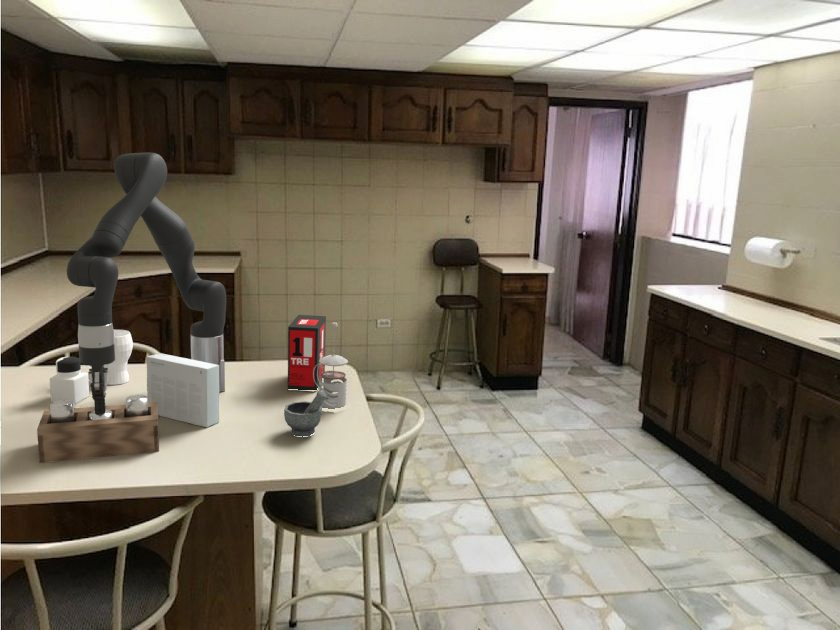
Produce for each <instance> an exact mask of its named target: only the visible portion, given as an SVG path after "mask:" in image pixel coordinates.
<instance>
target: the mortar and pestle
mask: <svg viewBox="0 0 840 630" xmlns="http://www.w3.org/2000/svg"><path fill="white" fill-rule="evenodd" d="M326 398H327V395H326V393H325V392H323V391H319V390H317V392H316V395H315V397H314V398H313V400H311V401H306V400H301V401H294V402H291V403H288V404H286V405H284V406H285V407H284V408H283V409H284V410H283V415H284V421H285V423H286V424H287V426H289V428H291V432H290V434H291V433H292V434H293V435H295V436H302V437H303V436H310V435H311V434H313V433H314V432H315V433H316V429H315V428H317V426H319V424H320V422H321V420H322V419H321V418H322V413H323V412H322V406H321V405H322V403H323V401H324V400H325V399H326ZM293 435H292V436H293ZM295 436H294V437H295ZM310 437H311V436H310Z"/></svg>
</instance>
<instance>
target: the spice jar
mask: <svg viewBox="0 0 840 630" xmlns="http://www.w3.org/2000/svg"><path fill="white" fill-rule="evenodd" d="M89 416H90V420H100V419H112V411H110V410H106V411H105V414H97V415H96V414H95V411H92V412H91V413H90V414H89Z"/></svg>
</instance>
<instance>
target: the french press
mask: <svg viewBox="0 0 840 630" xmlns="http://www.w3.org/2000/svg"><path fill="white" fill-rule="evenodd" d="M330 327H331V328H333V341H335V340H336V339H335V332H336V331H335V330H336V328H337V327H338V323H337V322H332V323H330ZM332 353H333V354H328V355H325V357H323V358H321V359H320V360H319V362H320V363H319V364H320V365H321V364H323V365H324V367H332V370H325V372H322V373H321V377H322V378H323V380H322V378H320V379H319V378H318V381H319V386H318V385H317V383H316V382H315V379H314V382H315V383H316V385H317V386H318V387H319V388H318V391H323V392H325V393H326V395H327V398H326V399H325V400H324V401H323V403H322V405H321V406H322V408H328V409H335V408H341V407H344V406H345V405H346V403H347V385H348V384H347V381H348V380H347V378H346V373H345V372H344V371H339V370H335V367H341V366H342V367H343V366H345V365H347V364H348V362H349V359H346V358H345V357H343V356H341V355H338V354H335V349H333V352H332ZM319 364H317V365H319ZM317 365H316V366H317ZM320 365H319V366H320ZM316 366H315V368H316ZM319 366H318V368H319ZM324 367H322V365H321V368H324ZM315 368H314V370H315ZM318 368H317V377H318ZM314 370H313V378H314ZM336 380H337V381H336ZM338 380H340V381H338ZM341 381H342V382H341Z"/></svg>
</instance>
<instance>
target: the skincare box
mask: <svg viewBox="0 0 840 630" xmlns="http://www.w3.org/2000/svg"><path fill="white" fill-rule="evenodd" d="M146 391H147V394H146V396H147V397H148V403H150V402H157V411H158V416H159V417H164V418H168V419H171V420H176V421H179V422H184V423H187V424H192V425H195V426H200V427H204V428H209V427H211V426H213V425H215V424H217V422H218V423H219V422H220V392H219V365H216V364H211V363H206V362H201V361H196V360H192V359H191V358H186V357H180V356H176V355H171V354H165V353H162V352H159V353H155V354H152V355H147V356H146Z"/></svg>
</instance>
